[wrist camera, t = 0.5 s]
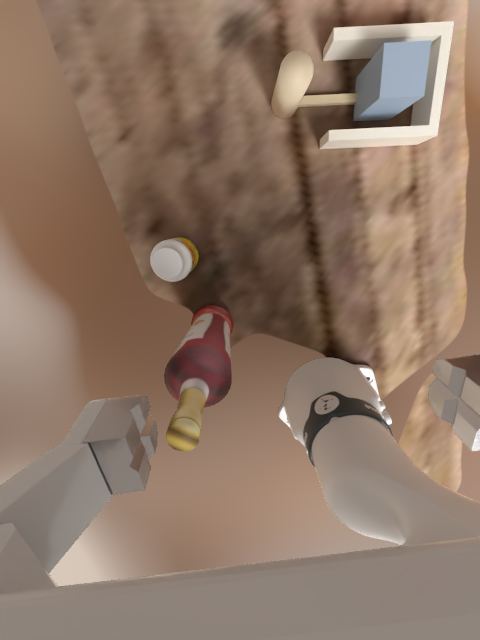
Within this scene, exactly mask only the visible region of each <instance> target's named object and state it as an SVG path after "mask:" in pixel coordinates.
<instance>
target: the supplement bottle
mask: <svg viewBox="0 0 480 640" xmlns="http://www.w3.org/2000/svg"><path fill="white" fill-rule="evenodd" d="M198 259H199V254H198V250H197V248H196V246H195V245H194V243H193V242H192V241H190V240H188V239H186V238H182V237H177V238H172V239H168V240H164V241H161V242H159V243H158V244H157V245H156V246H155V247H154V248H153V250H152V252H151V256H150V262H151V267H152V269H153V271H154V272H155V273H156V275H157V276H158V277H160V278H161V279H163V280H165V281H169V282H176V281H179V280H182V279H183V278H185V277H186V276H187V275H188V274H189V273H190V272H191V271H192V270H193V269H194V268H195V267H196V265H197V263H198Z"/></svg>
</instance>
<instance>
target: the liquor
mask: <svg viewBox="0 0 480 640" xmlns="http://www.w3.org/2000/svg"><path fill="white" fill-rule="evenodd" d="M232 329H233V321H232V318H231V316H230V314H229V313H228V312H227V311H226V310H225V309H223V308H221V307H219V306H215V305H208V306H204V307H202V308H200V309H199V310H198V311H197V312H196V313H195V314H194V316H193V318H192V326H191V328H190V329H189V331H188V333H187V334H186V336H185V337H184V339H183V341H182V342H181V343H180V345H179V346H178V348H177V349H176V351H175V353H174V354H173V356H172V358H171V359H170V361H169V363H168V364H167V367H166V369H165V375H164V377H165V384H166V387H167V389H168V391H169V393H170V394H171V395H172V396H173V397H174V398H175V399H176V400H177V401H179V402H178V407H177V411H176V412H175V414H174V415H173V417H172V418H171V421H170V424H169V427H168V430H167V433H166V441H167V443H168V444H169V445H170V446H171V447H172V448H173V449H175V450H179V451H188V450H191V449H193V448H195V447H196V446H197V444H198V442H199V438H200V433H201V427H202V421H201V414H202V411H203V408H204V407H208V406H211V405H214V404H216V403H218V402H219V401H221V400H222V399H223V398H224V397H225V396H226V395H227V393H228V391H229V389H230V386H231V351H230V335H231V332H232Z"/></svg>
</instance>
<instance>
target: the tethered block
mask: <svg viewBox="0 0 480 640" xmlns="http://www.w3.org/2000/svg"><path fill="white" fill-rule="evenodd" d="M430 48H431V40H428V41H409V42H390V43H384V44H383V45H382V46H381V48H380V49H379V50H378V51H377V53H376V54H375V55H374V56H373V57H372V59H371V60H370V61H369V62H368V64H367V65H366V66H365V67H364V69H363V70H362V71H361V72H360V74H359V75H358V76H357V77H356V87H355V93H350V94H330V95H310V96H303V95H304V94H305V92H306V90H307V88H308V86H309V84H310V82H311V80H312V77H313V71H314V68H313V62H312V60H311V58H310V57H309V55H308V54H307V53H305V52H303V51H300V50H296V51H292V52H290V53H289V54H287V55H286V56H285V58H284V59H283V61H282V63H281V66H280V70H279V74H278V78H277V81H276V85H275V89H274V93H273V97H272V101H271V107H272V111H273V113H274V114H275V115H276V116H277V117H278V118H281V119H287V118H289V117H291V116H292V115H293V114H294V113H295V111H296V109H297V107H311V106H331V105H351V104H354V116H353V121H372V120H390V119H391V118H393V117H394V116H396V115H397V114H399V113H400V112H402V111H403V110H404V109H406V108H407V107H409V106H410V105H412V104H413V103H415V102H416V101H418V100H419V99H421V98H422V97H424V93H425V86H426V78H427V71H428V63H429V56H430Z"/></svg>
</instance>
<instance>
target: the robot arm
mask: <svg viewBox="0 0 480 640" xmlns="http://www.w3.org/2000/svg"><path fill="white" fill-rule="evenodd" d="M432 373H433V374H434V375H435V377H436V379H435V380H434V381H433V382H432V383H431V384H430V386H429V393H428V396H429V400H430V404H431V406H432V408H433V410H434V412H435V413H436V414H437V415H438V416H439V417H440V418H441V419H443V420H445V421H447V422H449V423H451V424H452V431H453V432H454V433H455V434H456V435H457V437H458V438H459V439H460V440H461V441H462V442H463V443H464V444H465V445H466V446H467V447H468V448H469V449H470V450H471V451H477V450H480V354H474V355H470V356H462V357H454V358H446V359H438V360H437V361H436V362H435V364H434V366H433V370H432ZM366 377H369V378H368V379H367V378H366ZM150 407H151V406H150V402H149V400H148V397H147V396H145V395H138V396H129V397H118V398H110V399H100V400H93V401H90V402H89V403H87V405H86V407H85V408H84V410H83V411H82V413H81V414H80V416H79V417H78V419H77V420H76V422H75V424H74V425H73V427H72V428H71V430H70V431H69V433H68V434H67V436H66V438H65V439H64V441H63V442H62V444H61V445H60V446H59V447H53V448H52V449H51V450H49V451H48V452H47V453H45V454H44V455H42V456H41V457H40V458H38V459H37V460H35V461H34V462H32V463H31V464H30V465H28V466H27V467H25V468H24V469H23V470H21V471H20V472H19V473H17V474H16V475H14V476H13V477H12V478H10V479H9V480H7V481H6V482H5V483H3V484H2V485H0V640H480V502H479V501H476V500H473V499H470V498H468V497H466V496H464V495H461V494H459V493H457V492H455V491H453V490H451V489H449V488H447V487H445V486H443V485H442V484H440V483H438V482H436V481H435V480H433V479H432V478H430V477H429V476H428V475H426V474H425V473H424V472H422V471H421V470H420V469H419V468H418V467H417V466H416V465H415V464H414V463H413V462H412V460H411V459H410V458H409V457H408V456H407V455H406V453H405V452H404V451H403V450H402V449H401V447H400V446H399V445H398V443H397V442H396V441H395V440H394V438H393V435H392V432H391V429H390V428H389V426H388V425H389V424H391V423H392V421H391V418H390V416H389V414H388V413H387V411H383V409H385V405H384V403H383V402H382V401H380V397H379V393H378V389H377V385H376V381H375V377H374V373H373V370H372V369H371V367H369V366H367V365H354V364H351V363H348V362H346V361H344V360H341V359H337V358H329V357H327V358H318V359H314V360H311V361H309V362H307V363H305V364H303V365H302V366H300V367H299V368H298V369H297V370H296V371H295V372H294V373H293V374H292V375H291V377H290V378H289V380H288V382H287V385H286V388H285V395H284V401H283V402H282V404H281V406H280V407H279V409H278V415H279V417H280V419H281V420H282V421H283V422H284V423H286V425H288V426H289V427H290V428H291V430H292V433H293V436H294V438H295V439H298V440H299V441H300V442H301V443H302V444H303V445H304V446H305V448H306V452H307V454H308V456H309V458H310V460H311V463H312V464H313V465H314V467H315V468H316V471H317V474H318V478H319V481H320V484H321V487H322V491H323V493H324V497H325V500H326V503H327V505H328V507H329V508H330V510H331V512H332V513H333V514H334V516H335V517H336V518H337V519H338V520H339V521H340V522H342V523H343V524H344V525H346V526H347V527H349V528H351V529H352V530H354V531H356V532H358V533H360V534H362V535H365V536H368V537H372V538H377V539H383V540H387V541H391V542H394V543H396V544H399V545H400V546H398V547H389V548H380V549H372V550H364V551H355V552H347V553H338V554H329V555H321V556H313V557H304V558H296V559H288V560H279V561H270V562H262V563H254V564H245V565H236V566H228V567H219V568H211V569H203V570H194V571H186V572H178V573H169V574H160V575H152V576H143V577H135V578H128V579H118V580H111V581H101V582H93V583H84V584H76V585H68V586H59V587H58V586H57V584H56V583H55V582H54V580H53V579H52V577H51V576H50V575H49V573H50V571H51V570H52V569H53V568H54V566H55V565H56V564H57V563H58V562H59V561H60V559H61V558H62V557H63V556H64V555H65V553H66V552H67V551H68V550H69V549H70V547H71V546H72V545H73V544H74V542H75V541H76V540H77V539H78V538H79V536H80V535H81V534H82V532H84V530H85V529H86V528H87V527H88V526H89V524H90V523H91V522H92V521H93V520H94V518H95V517H96V516H97V515H98V513H99V512H100V511H101V510H102V509H103V507H104V506H105V505H106V504H107V503H108V501H109V500H110V499H111V498H112V496H111V495H116V494H123V493H130V492H136V491H143V490H145V489H146V485H147V481H148V478H149V474H150V470H151V465H150V462H149V458H151V456H152V455H153V454H154V453H155V450H156V446H157V435H158V433H157V425H156V421H155V419H154V418H153V417H152V416H150V415H149V411H150Z"/></svg>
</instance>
